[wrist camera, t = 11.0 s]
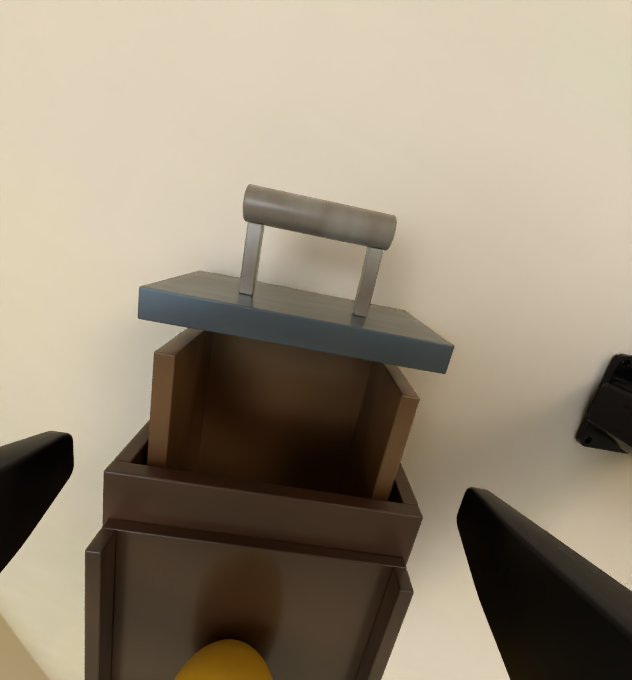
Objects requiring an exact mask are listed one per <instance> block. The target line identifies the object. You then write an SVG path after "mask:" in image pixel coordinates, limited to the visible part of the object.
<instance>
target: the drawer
mask: <svg viewBox="0 0 632 680" xmlns="http://www.w3.org/2000/svg"><path fill="white" fill-rule="evenodd" d="M243 218H244V220H245V221H246V222H248V225H247V233H246V241H245V248H244V256H243V263H242V271H241V278H235V277H230V276H225V275H220V274H215V273H209V272H204V271H196V272H193V273H189V274H185V275H181V276H178V277H174V278H170V279H166V280H163V281H159V282H155V283H151V284H148V285H144V286H140V287H139V303H138V318H139V319H143V320H148V321H154V322H160V323H165V324H171V325H176V326H182V327H187V329H186V330H184V331H183V332H182V333H180V334H179V335H177V336H176V337H175V338H173V339H172V340H170V341H169V342H168V343H166V344H165V345H163V346H162V347H161V348H159V349H158V350H156V351H155V352H154V364H153V379H152V395H151V410H150V426H149V442H148V457H147V466H154V467H161V468H167V469H174V470H181V471H188V472H194V473H201V474H208V475H215V476H221V477H228V478H235V479H242V480H248V481H255V482H262V483H268V484H275V485H282V486H289V487H295V488H302V489H309V490H316V491H322V492H329V493H336V494H343V495H349V496H356V497H363V498H370V499H376V500H383V501H388V499H389V495H390V492H391V489H392V486H393V483H394V480H395V476H396V473H397V470H398V467H399V464H400V460H401V457H402V454H403V451H404V448H405V445H406V441H407V438H408V435H409V432H410V429H411V425H412V422H413V419H414V416H415V413H416V409H417V406H418V403H419V400H420V398H419V396H418V395H417V394H416V392H415V391H414V389H413V388H412V387H411V385H410V384H409V382H408V381H407V380H406V378H405V377H404V375H403V374H402V372H401V371H400V370H399V368H398V367H397V366H402V367H408V368H414V369H419V370H425V371H430V372H436V373H441V374H445V373H446V370H447V367H448V364H449V361H450V358H451V355H452V352H453V349H454V345H452V344H451V343H450V342H448V341H447V340H445V339H444V338H443V337H441V336H440V335H438V334H437V333H436V332H434V331H433V330H431V329H430V328H429V327H427V326H426V325H424V324H423V323H422V322H420V321H419V320H417V319H416V318H415V317H413V316H412V315H410V314H409V313H408V312H406V311H405V310H400V309H394V308H389V307H384V306H379V305H374V304H370V303H371V298H372V294H373V290H374V286H375V282H376V278H377V274H378V270H379V266H380V262H381V258H382V254H383V250H388V249H389V247H390V245H391V243H392V241H393V238H394V235H395V231H396V224H397V219H396V216H394V215H390V214H385V213H381V212H376V211H371V210H367V209H362V208H357V207H353V206H348V205H344V204H339V203H334V202H330V201H325V200H321V199H316V198H311V197H307V196H302V195H297V194H293V193H288V192H284V191H279V190H274V189H270V188H265V187H261V186H256V185H251V184H250V185H248V186H247V188H246V191H245V195H244V201H243ZM263 225H265V226H270V227H275V228H280V229H284V230H289V231H294V232H299V233H304V234H308V235H313V236H318V237H323V238H328V239H333V240H337V241H342V242H347V243H352V244H357V245H361V246H366V247H368V248H367V251H366V255H365V260H364V264H363V268H362V272H361V277H360V281H359V285H358V290H357V294H356V298H355V301H353V300H348V299H343V298H338V297H333V296H328V295H322V294H317V293H312V292H307V291H302V290H297V289H292V288H286V287H281V286H276V285H271V284H266V283H261V282H256V280H257V273H258V266H259V259H260V252H261V245H262V238H263V232H264V226H263Z"/></svg>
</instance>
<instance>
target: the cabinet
mask: <svg viewBox="0 0 632 680" xmlns="http://www.w3.org/2000/svg"><path fill="white" fill-rule="evenodd" d="M149 426H150V420H149V421H148V422H147V423H146V424H145V426H144V427H143V428H142V429H141V430H140V431H139V432H138V433H137V435H136V436H135V437H134V438H133V439H132V440H131V441H130V442H129V444H128V445H127V446H126V447H125V448H124V449H123V450H122V451H121V452H120V454H119V455H118V456H117V457H116V458H115V459H114V461H112V463H111V464H110V465H109V466H108V467H107V468H106V469H105V471H104V488H103V525H104V524H105V522H106V521H107V519H108V518H111V519H119V520H126V521H133V522H141V523H148V524H156V525H163V526H170V527H178V528H185V529H193V530H200V531H207V532H215V533H222V534H229V535H237V536H244V537H252V538H259V539H266V540H274V541H281V542H289V543H296V544H303V545H311V546H318V547H325V548H333V549H340V550H348V551H355V552H362V553H370V554H377V555H384V556H392V557H399V558H404V561H405V564H407V561H408V558H409V556H410V553H411V550H412V547H413V544H414V542H415V539H416V536H417V533H418V530H419V528H420V525H421V522H422V519H423V516H422V514H421V512H420V509H419V507H418V503H417V501H416V499H415V496H414V494H413V491H412V489H411V487H410V484H409V482H408V479H407V477H406V475H405V472H404V470H403V467H402V465H401V463H400V464H399V467H398V470H397V473H396V476H395V480H394V483H393V486H392V489H391V492H390V495H389V499H388V501H383V500H376V499H370V498H363V497H356V496H349V495H343V494H336V493H329V492H322V491H316V490H309V489H302V488H295V487H289V486H282V485H275V484H268V483H262V482H255V481H248V480H242V479H235V478H228V477H221V476H215V475H208V474H201V473H194V472H188V471H181V470H174V469H167V468H161V467H154V466H147V457H148V442H149Z"/></svg>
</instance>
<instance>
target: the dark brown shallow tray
mask: <svg viewBox="0 0 632 680" xmlns="http://www.w3.org/2000/svg"><path fill="white" fill-rule="evenodd" d="M413 593H414V592H413V588H412V585H411V582H410V578H409V575H408V572H407V570H406V564H405V561H404V558H399V557H392V556H384V555H377V554H370V553H362V552H355V551H348V550H340V549H333V548H325V547H318V546H311V545H303V544H296V543H289V542H281V541H274V540H266V539H259V538H252V537H244V536H237V535H229V534H222V533H215V532H207V531H200V530H193V529H185V528H178V527H170V526H163V525H156V524H148V523H141V522H133V521H126V520H119V519H111V518H108V519H107V521H106V522H105V524H104V525H103V526H102V528H101V530H100V531H99V532H98V533H97V535H96V536H95V538H94V539H93V540H92V542H91V543H90V545H89V546H88V547H87V549H86V550H85V680H174V679H175V677H176V676H177V674H178V672H179V671H180V670H181V668H182V667H183V666H184V664H185V663H186V662H187V661H188V660H189V659H190V658H191V657H192V656H193V655H194V654H195V653H196V652H198V651H199V650H200V649H202V648H203V647H205V646H207V645H209V644H211V643H213V642H216V641H220V640H224V639H234V640H239V641H242V642H244V643H246V644H249V645H250V646H251V647H252V648H254V649H255V650H256V651H257V652H258V653H259V654H260V655H261V657H262V658H263V659H264V661H265V662H266V664H267V666H268V668H269V671H270V673H271V676H272V679H273V680H381V678H382V676H383V673H384V670H385V668H386V665H387V662H388V660H389V657H390V655H391V652H392V649H393V647H394V644H395V641H396V639H397V636H398V633H399V631H400V628H401V625H402V623H403V620H404V617H405V615H406V612H407V609H408V607H409V604H410V601H411V599H412V596H413Z"/></svg>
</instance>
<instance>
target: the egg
mask: <svg viewBox="0 0 632 680" xmlns="http://www.w3.org/2000/svg"><path fill="white" fill-rule="evenodd" d="M174 680H273V679H272V676H271V673H270V671H269V668H268V666H267V664H266V662H265V661H264V659H263V658H262V657H261V655H260V654H259V653H258V652H257V651H256V650H255V649H254V648H252V647H251V646H250V645H249V644H246V643H244V642H242V641H239V640H234V639H224V640H220V641H216V642H213V643H211V644H209V645H207V646H205V647H203V648H202V649H200V650H199V651H198V652H196V653H195V654H194V655H193V656H192V657H191V658H190V659H189V660H188V661H187V662H186V663H185V664H184V666H183V667H182V668H181V670H180V671H179V672H178V674H177V676H176V677H175V679H174Z"/></svg>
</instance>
